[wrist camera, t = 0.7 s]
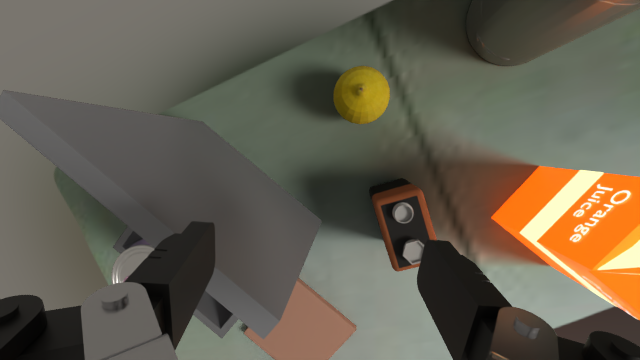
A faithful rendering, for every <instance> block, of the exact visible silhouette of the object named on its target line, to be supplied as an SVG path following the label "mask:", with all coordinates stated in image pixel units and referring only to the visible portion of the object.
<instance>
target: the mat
mask: <svg viewBox="0 0 640 360" xmlns="http://www.w3.org/2000/svg"><path fill="white" fill-rule="evenodd" d="M355 331H356V325H354V324H353V323H352V322H351V321H350V320H348V319H347V318H346V317H345V316H344V315H342V314H341V313H340V312H339V311H338V310H336V309H335V308H334V307H333V306H332V305H330V304H329V303H328V302H327V301H326V300H324V299H323V298H322V297H321V296H320V295H318V294H317V293H316V292H315V291H314V290H312V289H311V288H310V287H309V286H308V285H306V284H305V283H304V282H303V281H302V280H300V279H299V278H298V279H297V282H296V284H295V286H294V289H293V291H292V294H291V296H290V298H289V301H288V303H287V306H286V308H285V310H284V313H283V315H282V318H281V320H280V322H279V323H278V324H277V325H276V326H275V327H274V328H273V330H272V331H271V332H270V333H269V334H268V335H267V336H266V338H265V339H264V340H263V339H262V338H261V337H260V336H259V335H257V334H256V333H255V332H254V331H253V330H251V329H250V328H249V327H248V328H247V329H246V330H245V332H244V334H245V335H246V336H248V337H249V338H250V339H251V340H252V341H254V342H255V343H256V344H257V345H258V346H260V347H261V348H262V349H263V350H264V351H265V352H267V353H268V354H269V355H270V356H271V357H273V358H274V359H275V360H328V359H329V358H330V357H331V356H332V355H333V354H334V353H335V352H336V351H337V350H338V349H339V348H340V347H341V346H342V344H343V343H344V342H345V341H346V340H347V339H348V338H349V337H350V336H351V335H352V334H353V333H354V332H355Z"/></svg>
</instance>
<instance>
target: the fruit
mask: <svg viewBox="0 0 640 360" xmlns="http://www.w3.org/2000/svg"><path fill="white" fill-rule="evenodd" d="M389 98H390V91H389V86H388V83H387V80H386V79H385V78H384V76H383V75H382V74H381V73H380V72H379V71H377V70H375V69H374V68H372V67H367V66H359V67H354V68H352V69H349V70H347V71H346V72H345V73H344V74H343V75H341V76H340V78H339V80H338V81H337V83H336V86H335V89H334V104H335V107H336V110H337V111H338V112H339V114H340V115H341V116H342V117H343V118H344V119H346V120H348V121H349V122H351V123H356V124H365V123H370V122H372V121H374V120H376V119H377V118H378V117H380V116H381V115H382V114H383V112H384V111H385V109H386V108H387V105H388V101H389Z"/></svg>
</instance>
